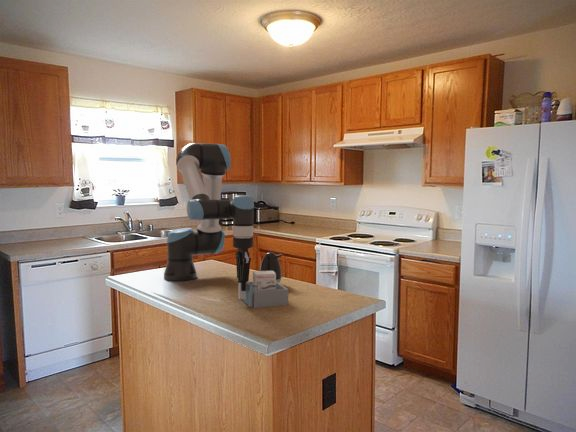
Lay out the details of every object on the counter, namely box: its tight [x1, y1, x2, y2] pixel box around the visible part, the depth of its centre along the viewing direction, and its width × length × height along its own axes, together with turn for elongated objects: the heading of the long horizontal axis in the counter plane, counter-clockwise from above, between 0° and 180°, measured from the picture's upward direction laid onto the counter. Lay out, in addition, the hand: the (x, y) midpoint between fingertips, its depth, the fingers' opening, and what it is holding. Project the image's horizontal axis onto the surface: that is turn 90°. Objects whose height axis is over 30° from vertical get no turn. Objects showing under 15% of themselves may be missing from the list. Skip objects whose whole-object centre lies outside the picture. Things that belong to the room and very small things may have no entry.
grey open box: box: [248, 280, 289, 309], centre depth 164 cm, size 16×15×9 cm
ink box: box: [252, 270, 276, 302], centre depth 162 cm, size 9×5×12 cm, turn 103°
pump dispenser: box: [259, 251, 283, 283], centre depth 188 cm, size 10×10×15 cm
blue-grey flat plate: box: [241, 281, 253, 308], centre depth 161 cm, size 13×1×8 cm, turn 22°
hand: (242, 298), depth 159 cm, fingers closed
